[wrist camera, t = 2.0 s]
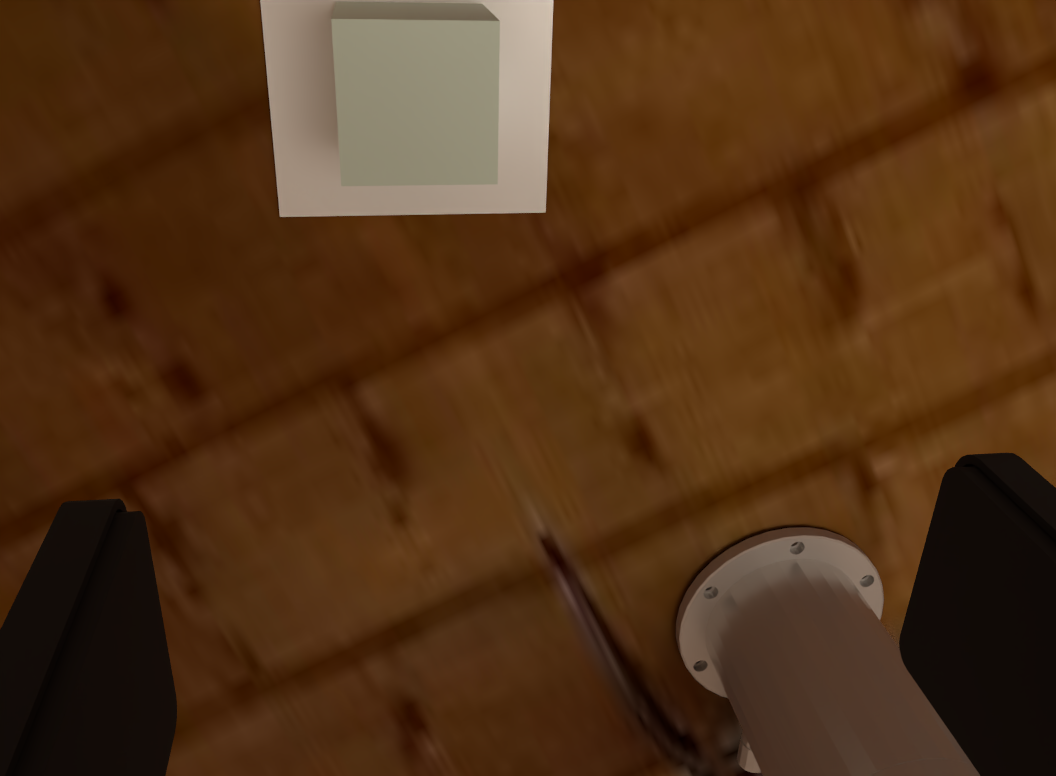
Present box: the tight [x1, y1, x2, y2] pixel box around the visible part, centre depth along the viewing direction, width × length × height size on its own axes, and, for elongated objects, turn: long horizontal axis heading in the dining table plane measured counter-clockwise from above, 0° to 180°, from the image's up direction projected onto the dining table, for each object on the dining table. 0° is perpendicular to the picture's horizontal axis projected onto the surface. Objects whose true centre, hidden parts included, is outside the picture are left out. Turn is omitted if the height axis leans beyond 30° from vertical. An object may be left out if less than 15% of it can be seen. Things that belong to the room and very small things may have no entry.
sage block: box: [331, 2, 500, 186], centre depth 39 cm, size 6×6×6 cm
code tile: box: [260, 0, 553, 217], centre depth 42 cm, size 12×12×1 cm
